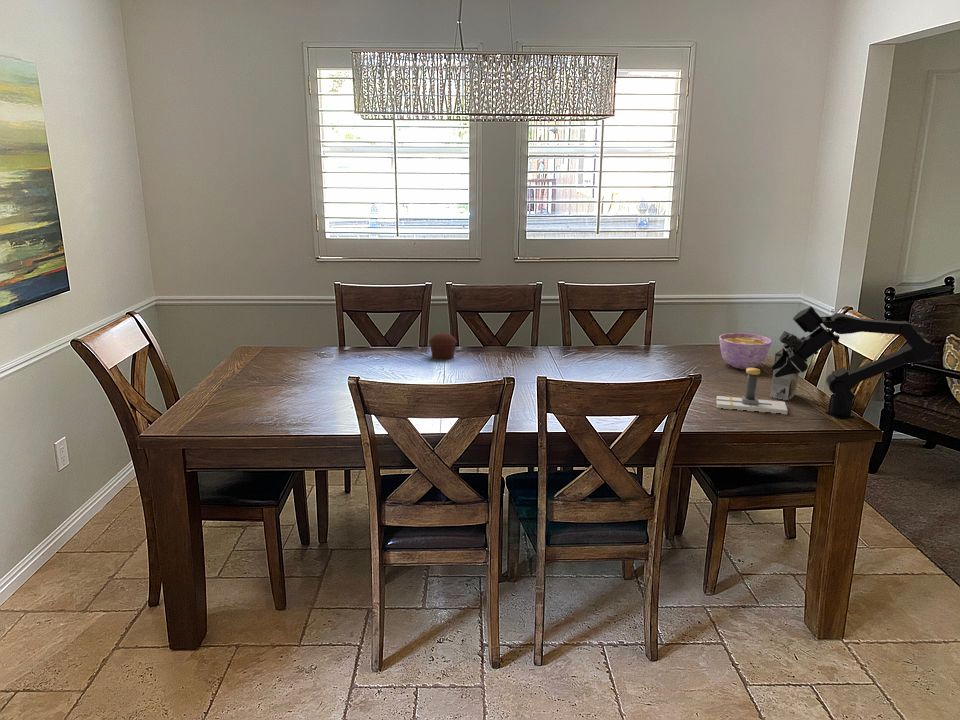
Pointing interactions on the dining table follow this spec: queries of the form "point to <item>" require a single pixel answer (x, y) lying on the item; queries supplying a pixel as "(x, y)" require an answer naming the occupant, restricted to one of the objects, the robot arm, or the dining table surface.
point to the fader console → (751, 405)
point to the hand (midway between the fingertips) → (773, 372)
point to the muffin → (442, 346)
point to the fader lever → (751, 386)
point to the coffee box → (783, 383)
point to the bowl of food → (744, 349)
